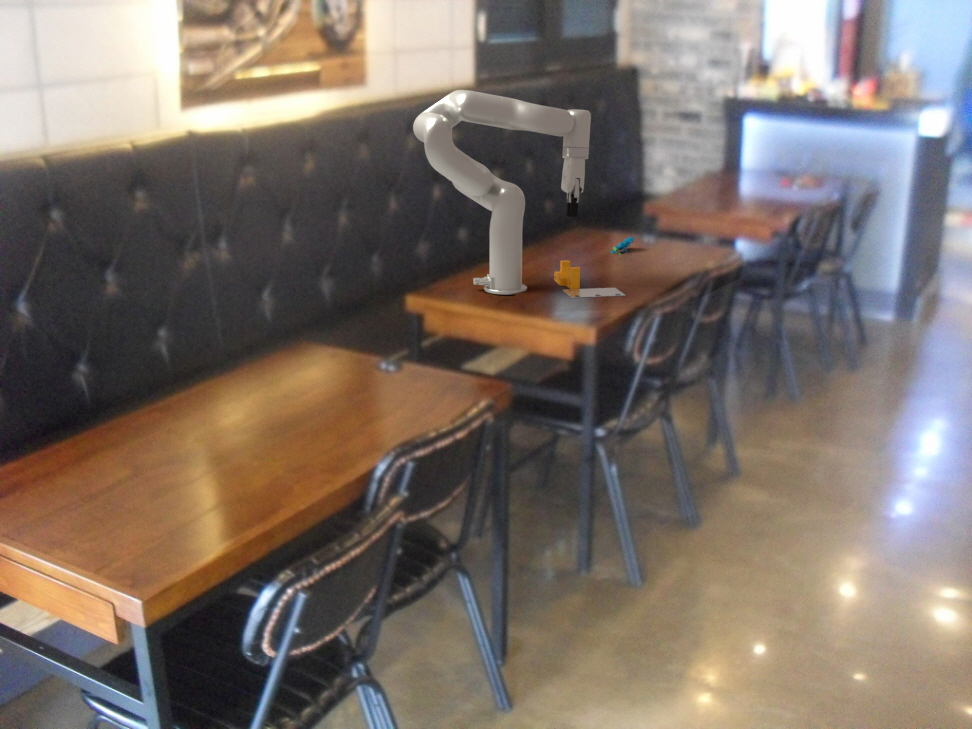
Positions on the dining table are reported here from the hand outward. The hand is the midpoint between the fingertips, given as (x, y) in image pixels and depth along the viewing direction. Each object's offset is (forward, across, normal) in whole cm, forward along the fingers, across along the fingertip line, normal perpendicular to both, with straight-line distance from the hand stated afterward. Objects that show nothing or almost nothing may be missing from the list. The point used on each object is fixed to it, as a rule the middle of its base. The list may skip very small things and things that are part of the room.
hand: (571, 216), depth 310 cm
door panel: (+20, +13, +5) cm, 25 cm away
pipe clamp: (+21, +1, 0) cm, 21 cm away
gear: (+20, -40, +25) cm, 51 cm away
